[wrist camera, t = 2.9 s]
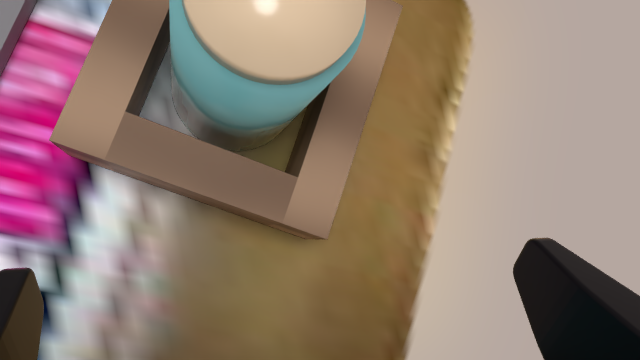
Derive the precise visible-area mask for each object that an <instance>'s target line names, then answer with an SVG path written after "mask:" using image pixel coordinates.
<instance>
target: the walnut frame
mask: <svg viewBox="0 0 640 360" xmlns="http://www.w3.org/2000/svg"><path fill="white" fill-rule="evenodd" d="M402 7H403V6H402V5H400V4H398V3H396V2H394V1H392V0H366V18H365V27H364V31H363V35H362V39H361V42H360V44H359V46H358V49H357V51H356V52H355V54H354V56H353V58H352V59H351V61H350V62H349V63H348V64H347V66H346V67H345V68H344V69H343V70H342V71H341V72H340V73H339V74H338V75H337V76H336V77H335V78H334V79H333V80H332V81H331V82H330V83H329V84H328V85H327V86H326V87H325V88H324V89H323V90H322V91H321V92H320V93H319V94H318V95H317V96H316V97H315V98H314V99H313V100H312V101H311V102H310V103H309V105H308V108H307V111H306V113H305V116H304V119H303V122H302V125H301V128H300V131H299V133H298V136H297V139H296V142H295V145H294V148H293V151H292V153H291V156H290V159H289V162H288V165H287V168H286V171H285V172H283V171H280V170H277V169H275V168H272V167H269V166H267V165H264V164H262V163H259V162H256V161H254V160H251V159H249V158H246V157H243V156H241V155H238V154H235V153H233V152H230V151H228V150H225V149H222V148H220V147H217V146H215V145H212V144H209V143H207V142H204V141H202V140H199V139H196V138H194V137H191V136H188V135H186V134H183V133H181V132H178V131H175V130H173V129H170V128H168V127H165V126H162V125H160V124H157V123H154V122H152V121H149V120H147V119H144V118H141V117H139V114H140V112H141V109H142V107H143V105H144V102H145V100H146V97H147V95H148V93H149V90H150V88H151V85H152V83H153V81H154V78H155V76H156V73H157V71H158V69H159V66H160V64H161V62H162V59H163V57H164V54H165V52H166V50H167V47H168V45H169V42H170V13H169V0H112V2H111V4H110V7H109V9H108V11H107V13H106V15H105V18H104V20H103V22H102V24H101V26H100V29H99V31H98V33H97V35H96V38H95V40H94V42H93V44H92V46H91V49H90V51H89V53H88V55H87V57H86V60H85V62H84V64H83V66H82V69H81V71H80V73H79V75H78V77H77V80H76V82H75V84H74V86H73V88H72V91H71V93H70V95H69V97H68V100H67V102H66V104H65V106H64V108H63V111H62V113H61V115H60V117H59V119H58V122H57V124H56V126H55V128H54V130H53V133H52V135H51V137H50V139H49V140H50V141H51V142H52V143H54V144H55V145H56V146H58V147H59V148H60V149H62V150H63V151H64V152H65V153H67V154H68V155H70V156H72V157H75V158H78V159H81V160H84V161H87V162H89V163H92V164H95V165H98V166H101V167H104V168H106V169H109V170H112V171H115V172H118V173H120V174H123V175H126V176H129V177H132V178H135V179H137V180H140V181H143V182H146V183H149V184H152V185H154V186H157V187H160V188H163V189H166V190H169V191H171V192H174V193H177V194H180V195H183V196H185V197H188V198H191V199H194V200H197V201H200V202H202V203H205V204H208V205H211V206H214V207H217V208H219V209H222V210H225V211H228V212H231V213H234V214H236V215H239V216H242V217H245V218H248V219H250V220H253V221H256V222H259V223H262V224H265V225H267V226H270V227H273V228H276V229H279V230H282V231H284V232H287V233H290V234H293V235H296V236H298V237H301V238H304V239H327V238H328V235H329V232H330V229H331V226H332V223H333V220H334V217H335V214H336V211H337V208H338V205H339V201H340V198H341V195H342V192H343V189H344V186H345V183H346V180H347V177H348V174H349V171H350V167H351V164H352V161H353V158H354V155H355V152H356V149H357V146H358V143H359V140H360V137H361V133H362V130H363V127H364V124H365V121H366V118H367V115H368V112H369V109H370V106H371V103H372V99H373V96H374V93H375V90H376V87H377V84H378V81H379V78H380V75H381V72H382V69H383V66H384V62H385V59H386V56H387V53H388V50H389V47H390V44H391V41H392V38H393V35H394V32H395V28H396V25H397V22H398V19H399V16H400V13H401V10H402Z"/></svg>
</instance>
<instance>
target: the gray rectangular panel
mask: <svg viewBox="0 0 640 360" xmlns="http://www.w3.org/2000/svg"><path fill="white" fill-rule="evenodd" d="M36 2H37V0H0V76H1V74H2V72H3V70H4V68H5V65H6V63H7V61H8V59H9V57H10V55H11V53H12V51H13V49H14V47H15V45H16V43H17V41H18V39H19V37H20V35H21V32H22V30H23V28H24V26H25V24H26V22H27V20H28V18H29V16H30V14H31V12H32V10H33V8H34V6H35V4H36Z"/></svg>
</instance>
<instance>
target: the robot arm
mask: <svg viewBox="0 0 640 360" xmlns="http://www.w3.org/2000/svg"><path fill="white" fill-rule="evenodd" d="M513 275H514V279H515V282H516V285H517V288H518V291H519V293H520V296H521V299H522V302H523V305H524V308H525V311H526V314H527V316H528V319H529V322H530V325H531V328H532V331H533V333H534V336H535V339H536V341H537V344H538V347H539V349H540V351H541V353H542V356H543V358H544V360H640V296H639V295H637V294H636V293H634V292H633V291H631V290H630V289H628V288H627V287H625V286H624V285H622V284H620V283H619V282H617V281H616V280H614V279H613V278H611V277H610V276H608V275H606V274H605V273H604V272H602V271H600V270H599V269H597V268H596V267H594V266H593V265H591V264H590V263H588V262H587V261H585V260H583V259H582V258H580V257H579V256H577V255H576V254H574V253H573V252H571V251H570V250H568V249H567V248H565V247H564V246H562V245H560V244H559V243H557V242H556V241H554V240H553V239H550V238H534V239H530V240H529V241H527V243H526V244H525V246H524V248H523V250H522V251H521V253H520V255H519V257H518V259H517V261H516V262H515V264H514V268H513ZM43 311H44V306H43V299H42V296H41V293H40V290H39V286H38V283H37V280H36V277H35V274H34V272H33V271H32V269H30V268H12V269H4V270H2V271H0V360H37V358H38V350H39V343H40V335H41V328H42V320H43Z"/></svg>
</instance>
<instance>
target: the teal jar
mask: <svg viewBox="0 0 640 360" xmlns="http://www.w3.org/2000/svg"><path fill="white" fill-rule="evenodd" d="M169 13H170V57H171V92H172V99H173V103H174V106H175V109H176V111H177V114H178V115H179V117H180V119H181V121H182V122H183V123H184V125H185V126H186V127H187V128H188V129H189V131H190V132H191V133H192V134H194V135H195V136H196V137H197V138H199V139H200V140H202V141H204V142H207V143H209V144H212V145H215V146H217V147H220V148H222V149H225V150H230V151H243V150H250V149H254V148H257V147H260V146H262V145H264V144H266V143H268V142H270V141H271V140H272V139H274V138H275V137H276V136H277V135H278V134H279V133H281V132H282V131H283V130H284V129H285V127H286V126H287V125H288V124H289V123H290V122H291V121H292V120H293V119H294V118H295V117H296V116H297V115H298V114H299V113H300V112H301V111H302V110H303V109H304V108H305V107H306V106H307V105H308V104H309V103H310V102H311V101H312V100H313V99H314V98H315V97H316V96H317V95H318V94H319V93H320V92H321V91H322V90H323V89H324V88H325V87H326V86H327V85H328V84H329V83H330V82H331V81H332V80H333V79H334V78H335V77H336V76H337V75H338V74H339V73H340V72H341V71H342V70H343V69H344V68H345V67H346V66H347V64H348V63H349V62H350V61H351V59H352V58H353V56H354V54H355V52H356V51H357V49H358V46H359V44H360V42H361V39H362V35H363V31H364V27H365V18H366V0H169Z"/></svg>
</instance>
